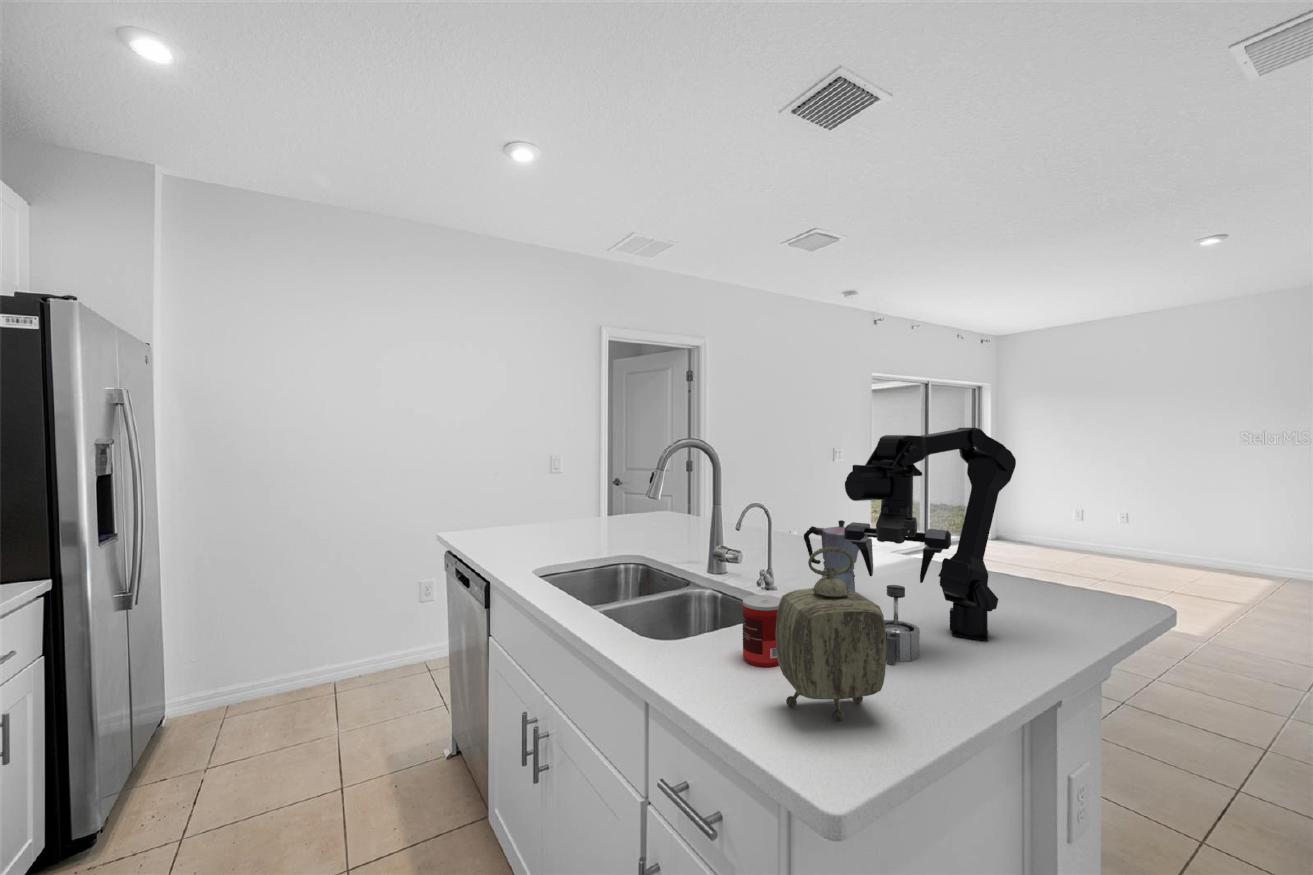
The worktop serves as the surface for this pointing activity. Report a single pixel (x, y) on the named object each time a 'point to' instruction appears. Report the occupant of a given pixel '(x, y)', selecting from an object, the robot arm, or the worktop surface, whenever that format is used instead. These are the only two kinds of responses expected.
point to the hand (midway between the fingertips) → (895, 579)
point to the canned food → (760, 630)
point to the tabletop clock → (831, 640)
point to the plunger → (896, 608)
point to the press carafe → (902, 643)
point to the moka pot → (835, 559)
